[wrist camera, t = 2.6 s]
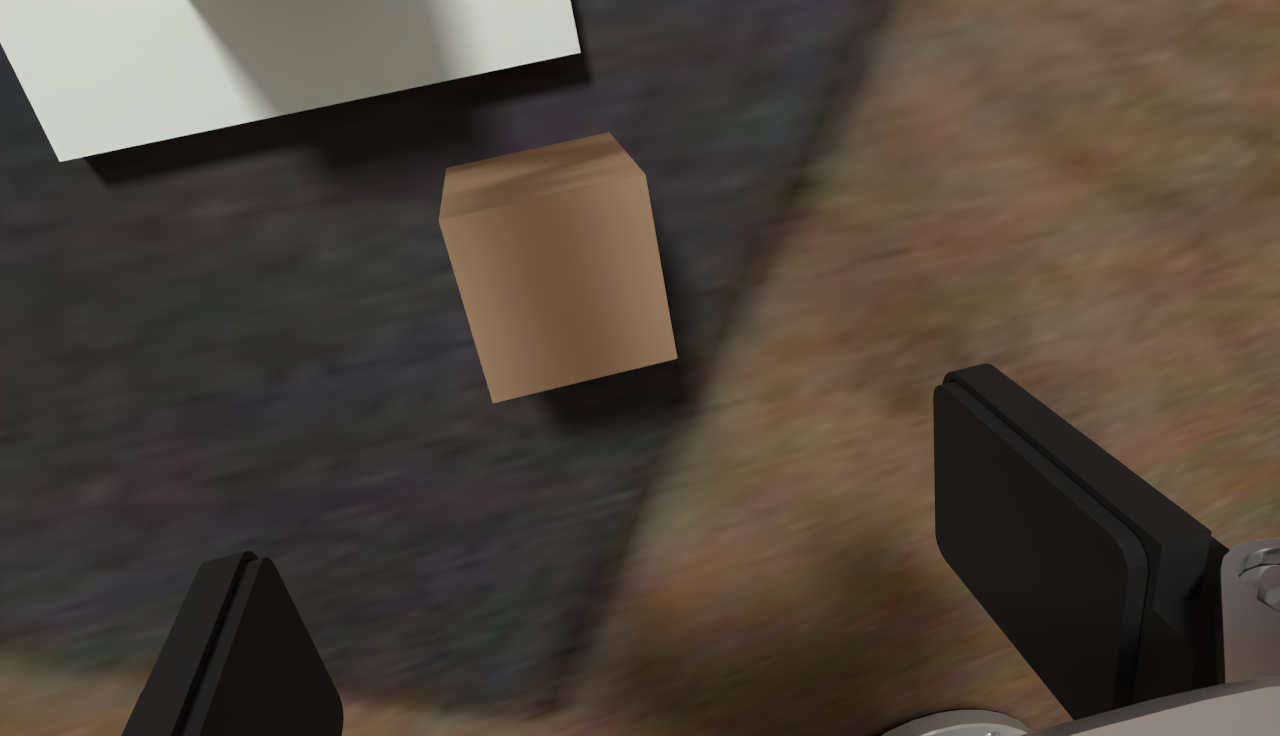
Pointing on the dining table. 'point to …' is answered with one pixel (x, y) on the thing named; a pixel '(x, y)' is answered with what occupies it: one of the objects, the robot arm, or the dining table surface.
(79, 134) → the plate
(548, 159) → the walnut block
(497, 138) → the dining table surface
